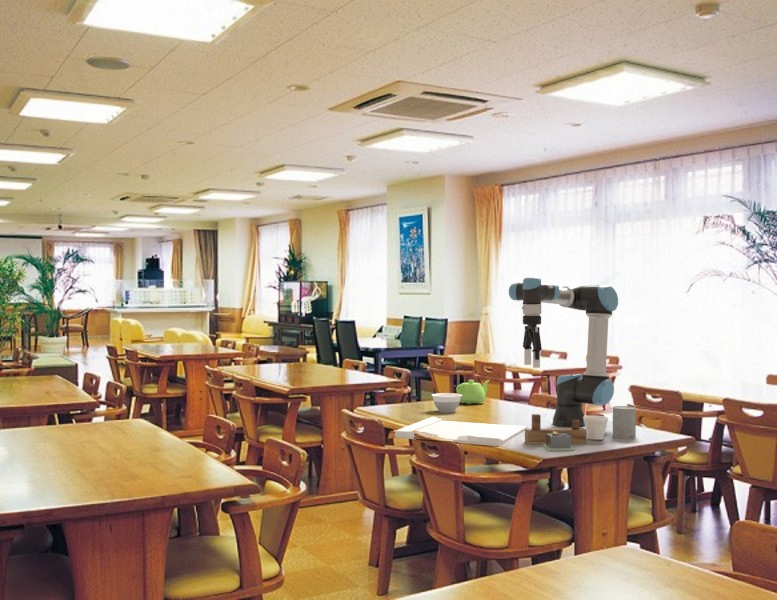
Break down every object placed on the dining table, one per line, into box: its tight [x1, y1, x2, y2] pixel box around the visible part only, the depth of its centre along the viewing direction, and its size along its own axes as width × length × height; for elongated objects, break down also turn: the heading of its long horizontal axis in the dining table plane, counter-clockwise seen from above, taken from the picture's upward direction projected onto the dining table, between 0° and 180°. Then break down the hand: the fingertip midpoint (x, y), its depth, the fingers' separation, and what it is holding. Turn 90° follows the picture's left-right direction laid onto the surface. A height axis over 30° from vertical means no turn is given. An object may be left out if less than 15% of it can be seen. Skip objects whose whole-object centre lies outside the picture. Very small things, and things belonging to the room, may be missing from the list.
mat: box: [541, 444, 576, 452], centre depth 311 cm, size 10×10×1 cm
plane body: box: [524, 413, 587, 445], centre depth 323 cm, size 5×24×12 cm, turn 94°
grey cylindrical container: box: [612, 405, 637, 439], centre depth 338 cm, size 10×10×12 cm
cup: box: [583, 415, 609, 441], centre depth 331 cm, size 10×10×9 cm
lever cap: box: [546, 431, 572, 448], centre depth 312 cm, size 7×8×6 cm
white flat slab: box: [394, 415, 528, 447], centre depth 345 cm, size 45×45×4 cm
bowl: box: [431, 392, 462, 414], centre depth 412 cm, size 16×16×8 cm
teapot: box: [455, 379, 491, 405], centre depth 444 cm, size 22×15×13 cm
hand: (532, 366), depth 330 cm, fingers open, 13 cm apart
